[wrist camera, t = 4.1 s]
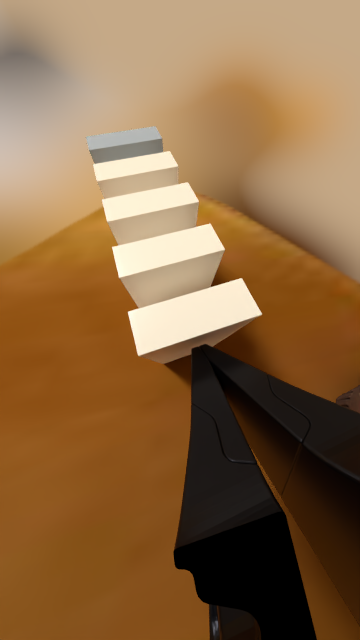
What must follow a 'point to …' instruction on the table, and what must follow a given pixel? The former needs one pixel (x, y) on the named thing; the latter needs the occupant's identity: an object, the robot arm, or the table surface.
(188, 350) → the domino
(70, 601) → the table surface
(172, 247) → the domino
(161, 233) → the domino
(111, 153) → the domino
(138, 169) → the domino
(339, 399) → the decorative turtle
